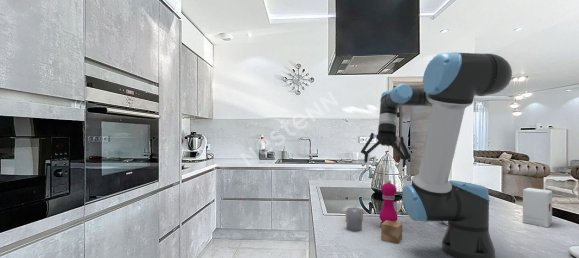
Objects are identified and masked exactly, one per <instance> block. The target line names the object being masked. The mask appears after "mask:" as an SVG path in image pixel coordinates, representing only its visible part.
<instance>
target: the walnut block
mask: <svg viewBox="0 0 579 258" xmlns="http://www.w3.org/2000/svg"><path fill="white" fill-rule="evenodd" d="M380 229H381V230H380V231H381V232H380V233H381V235H380V238H381V239H380V240H381V241H383V242H387V243H393V244H396V245H397V244H400V242H401V241H402V240H403V222H398V221H396V222H394V221H388V220H386V221H384V222H383V223H382V224H381V227H380Z"/></svg>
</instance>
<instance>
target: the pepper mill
mask: <svg viewBox="0 0 579 258" xmlns="http://www.w3.org/2000/svg"><path fill="white" fill-rule="evenodd" d="M380 191H381V193H382V195H381V196H382V199H383V204H382V206H381V210H380V212H379V215H378V216H379V219H380V228H381V224H382V223H383V222H384V221H386V220H388V221H394V222H398V213H397V211H396V208H395V205H394V201H395V199H396V198H395V197H396V196H395V195H396V193H397V188H396V185H394V184H393V183H392V181H391V179H387V180H386V183H383V184H382V186H381V188H380Z"/></svg>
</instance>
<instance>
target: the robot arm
mask: <svg viewBox="0 0 579 258" xmlns="http://www.w3.org/2000/svg"><path fill="white" fill-rule="evenodd" d="M512 77H513V70H512V66H511V65H510V63H509V62H508V61H507V60H506V59H505V58H504V57H502V56H500V55H498V54H496V53H495V54H494V53H477V52H474V53H472V52H457V51H455V52H453V51H452V52H442V53H438V54H436V55H435V56H433V58H431V60H430V61H429V62H428V64H427V65H426V67H425V70H424V72H423V77H422V84H423V85H422V87H411V85H410V86H409V85H408V84H406V83H399V84H397V85H396V86H394V87H393V88H392V89H391V90H386V91H383V92H382V93H381V97H380V105H379V119H378V126H377V127H378V128H377V134H375V133H373V132H371V133H370V135H369V139H368V140H367V141H366V143H365V144H364V146H363V147H362V148H361V150H360V153H361V154H363V156H364V159H363V161H364V163H365V164H366V167H365V171H369V167H370V156H371V155H370V153H371V152H373V150H375V149H376V148H377V147H378V146H379V145H381V146H386V147H391V148H392V149H393V150H394V151H395V153H396V154H397V155H398V157H399V158H400V160H399V163H398V164H399V168H398V176H402V175H403V169H404V168H405V167H406V161H407V160H408V161H409V160H410V159H411V155H410V152H409V151H408V149H407V147H406V144H405V141H404V139H405V138H404V136H400V137H399V136H398V137H397V125H398V123H397V122H398V112H399V111H398V110H399V108H401V106H402V107H410V106H411V107H431V109H430V115H429V121H428V124H427V130H426V135H425V139H424V140H425V142H424V145H423V146H424V147H423V151H422V155H421V161H420V164H419V165H420V166H419V171H418V174H415V175H413V177H412V181H411V184H407V185H405V186H403V189H402V201H403V203H402V204H403V205H404V210H405V211H406V213H407V215H408V217H409V218H410V219H411V220H413V221H415V222H423V223H427V222H447V227H446V230H445V233H444V235H443V237H442V241H441V249H442V251H444V252H445V253H446V254H448V255H450V256H451V257H455V258H496V249H495V246H494V244H493V243H494V242H493V241H492V238H491V236H490V229H489V228H490V227H489V226H490V224H489V223H490V222H489V221H490V218H489V217H490V212H489V211H490V195H489V190H488V188H487V187H486V186H484V185H481V184H476V183H472V182H465V181H460V180H449V178H450V174H451V169H452V166H453V161H454V157H455V154H456V148H457V144H458V139H459V136H460V131H461V127H462V123H463V117H464V115H465V111H466V109H467V107H470V106H471V105H473V103H474V99H475V96H478V97H485V96H490V95H494V94H498V93H500V92H502V91H503V90H504V89H506V87H508V85H509V84H510V82H511V80H512ZM375 138H376V139H377V141H376V142H375V143H374V144H373V145H372V146H370V148H368V146H369V145H370V143H372V141H373V140H375ZM396 141H397V143H399V146H400V147H399V146H398V145H397V143H396ZM367 148H368V149H367ZM400 148H401V149H400ZM366 149H367V150H366Z"/></svg>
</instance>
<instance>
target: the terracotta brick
mask: <svg viewBox="0 0 579 258" xmlns="http://www.w3.org/2000/svg"><path fill="white" fill-rule="evenodd" d="M358 208H359V207H358ZM359 209H361V210H362V221H364V209H363V208H359ZM345 222H346V223H347V209H346V210H345Z"/></svg>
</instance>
